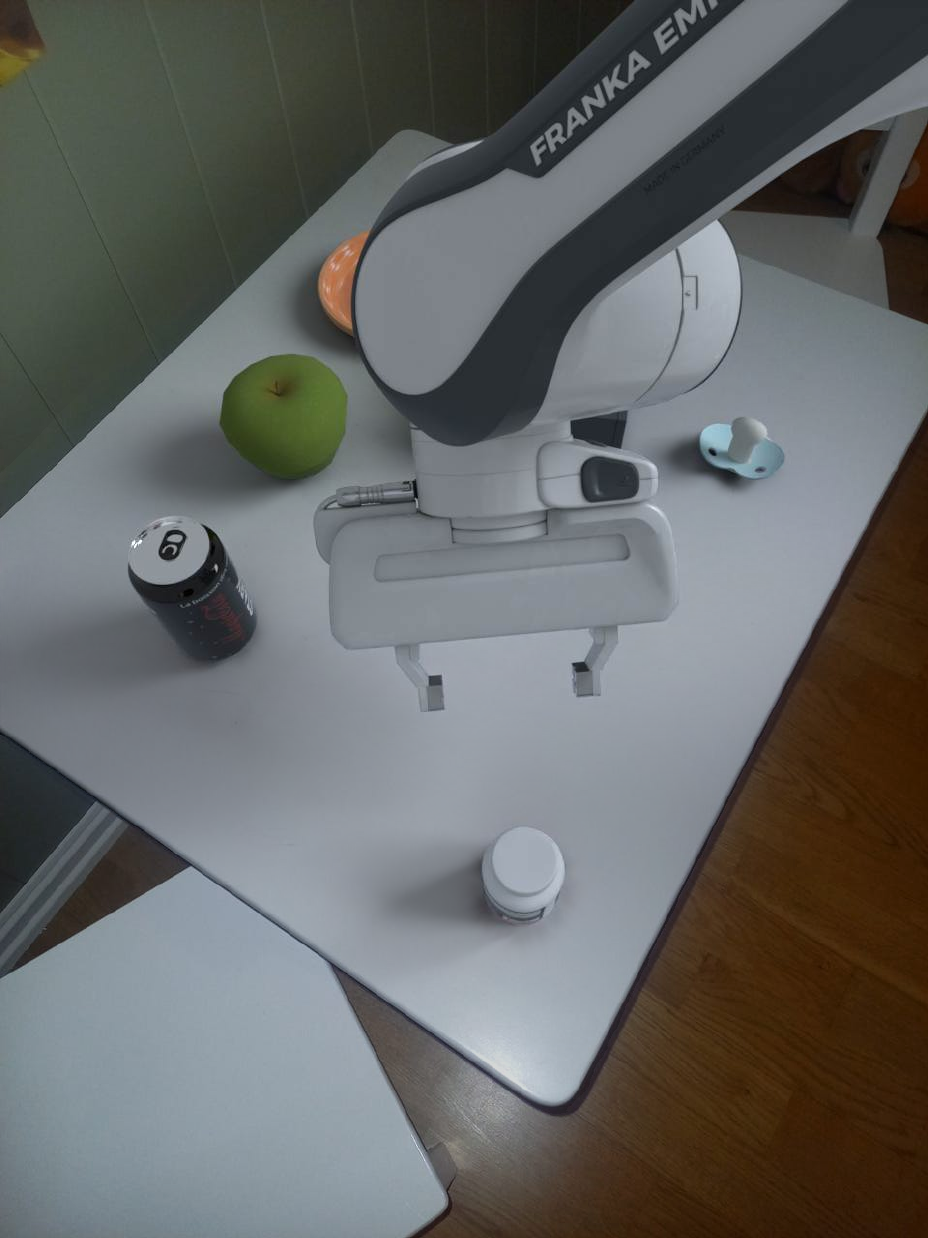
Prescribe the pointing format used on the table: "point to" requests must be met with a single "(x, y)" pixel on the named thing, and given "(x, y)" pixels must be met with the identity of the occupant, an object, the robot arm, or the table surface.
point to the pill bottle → (522, 875)
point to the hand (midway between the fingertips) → (509, 701)
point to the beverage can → (192, 587)
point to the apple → (285, 415)
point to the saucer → (340, 281)
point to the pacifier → (742, 448)
